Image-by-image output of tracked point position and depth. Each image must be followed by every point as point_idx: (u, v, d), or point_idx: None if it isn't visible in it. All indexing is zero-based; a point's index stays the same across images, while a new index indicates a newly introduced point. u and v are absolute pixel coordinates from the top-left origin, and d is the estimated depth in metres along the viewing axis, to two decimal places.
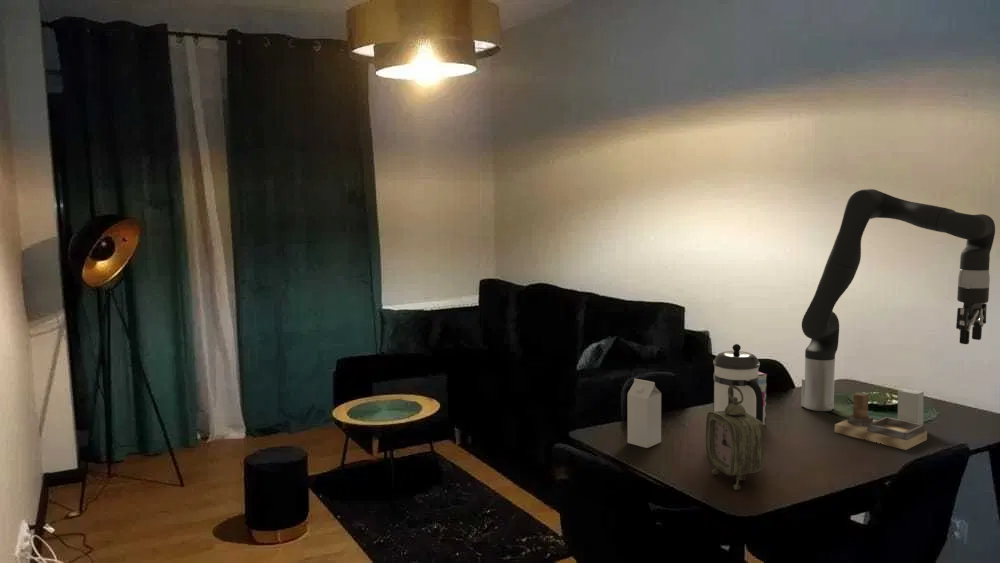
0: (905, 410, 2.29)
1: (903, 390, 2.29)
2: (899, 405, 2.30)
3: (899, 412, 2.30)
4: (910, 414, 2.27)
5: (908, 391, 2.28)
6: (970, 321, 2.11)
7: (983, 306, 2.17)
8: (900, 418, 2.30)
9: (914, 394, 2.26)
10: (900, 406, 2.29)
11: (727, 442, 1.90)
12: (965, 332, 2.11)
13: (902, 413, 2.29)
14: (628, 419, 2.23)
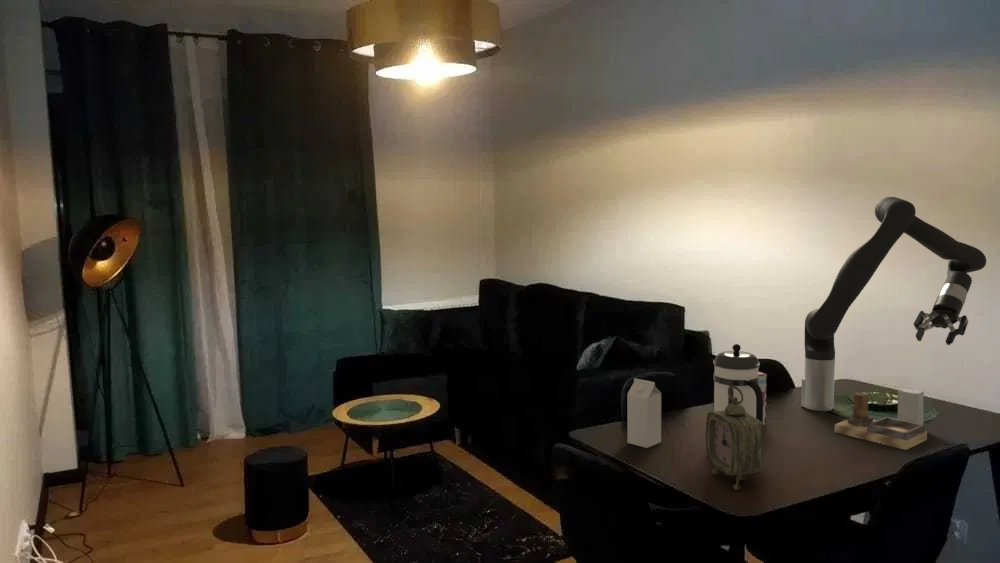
0: (905, 410, 2.29)
1: (903, 390, 2.29)
2: (899, 405, 2.30)
3: (899, 412, 2.30)
4: (910, 414, 2.27)
5: (908, 391, 2.28)
6: None
7: None
8: (900, 418, 2.30)
9: (914, 394, 2.26)
10: (900, 406, 2.30)
11: (727, 442, 1.90)
12: None
13: (902, 413, 2.29)
14: (628, 419, 2.23)
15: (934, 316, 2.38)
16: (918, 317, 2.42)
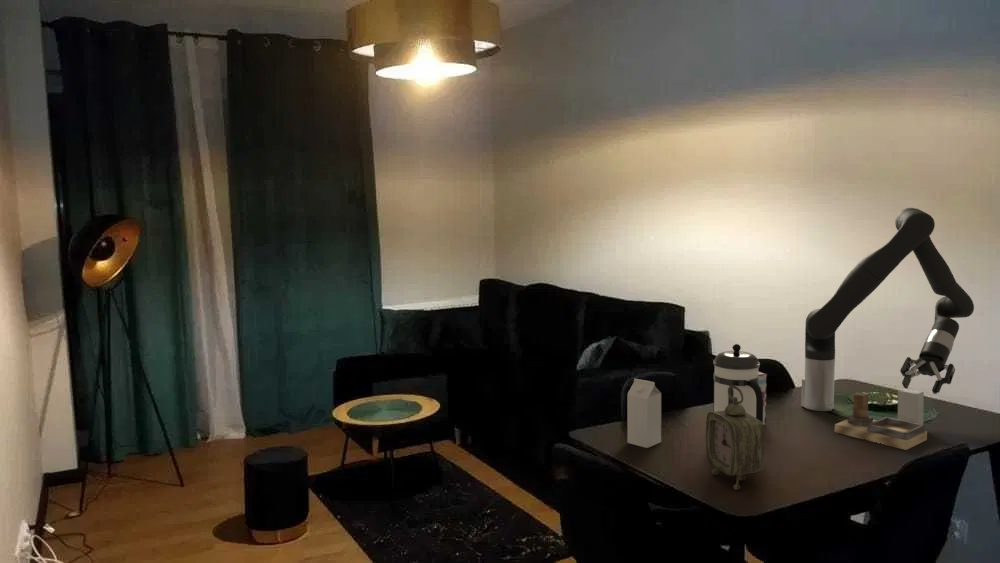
0: (905, 410, 2.29)
1: (903, 390, 2.29)
2: (899, 405, 2.30)
3: (899, 412, 2.30)
4: (910, 414, 2.27)
5: (908, 391, 2.28)
6: None
7: None
8: (900, 418, 2.30)
9: (914, 394, 2.26)
10: (900, 406, 2.30)
11: (727, 442, 1.90)
12: (941, 384, 2.29)
13: (902, 413, 2.29)
14: (628, 419, 2.23)
15: (921, 363, 2.35)
16: (905, 363, 2.39)
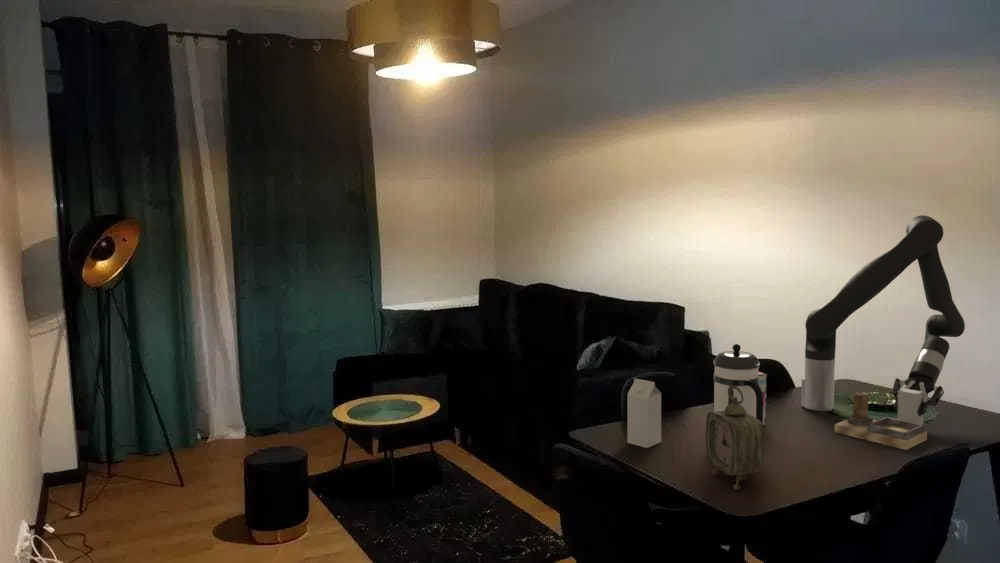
0: (905, 410, 2.29)
1: (903, 390, 2.29)
2: (899, 405, 2.30)
3: (899, 412, 2.30)
4: (910, 414, 2.27)
5: (908, 391, 2.28)
6: (928, 398, 2.28)
7: None
8: (900, 418, 2.30)
9: (914, 394, 2.26)
10: (900, 406, 2.29)
11: (727, 442, 1.90)
12: (927, 406, 2.26)
13: (902, 413, 2.29)
14: (628, 419, 2.23)
15: (911, 384, 2.31)
16: (895, 385, 2.35)
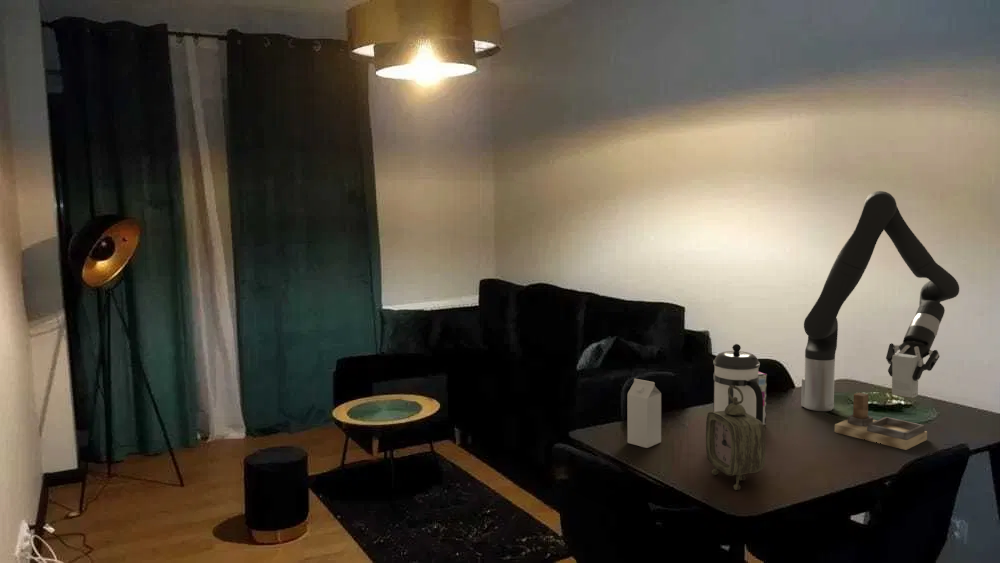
0: (899, 375, 2.22)
1: (898, 355, 2.23)
2: (893, 370, 2.24)
3: (894, 377, 2.24)
4: (905, 379, 2.21)
5: (903, 355, 2.22)
6: (923, 363, 2.23)
7: None
8: (894, 383, 2.24)
9: (909, 358, 2.20)
10: (894, 371, 2.23)
11: (727, 442, 1.90)
12: (922, 371, 2.20)
13: (896, 379, 2.23)
14: (628, 419, 2.23)
15: (905, 348, 2.25)
16: (889, 350, 2.29)
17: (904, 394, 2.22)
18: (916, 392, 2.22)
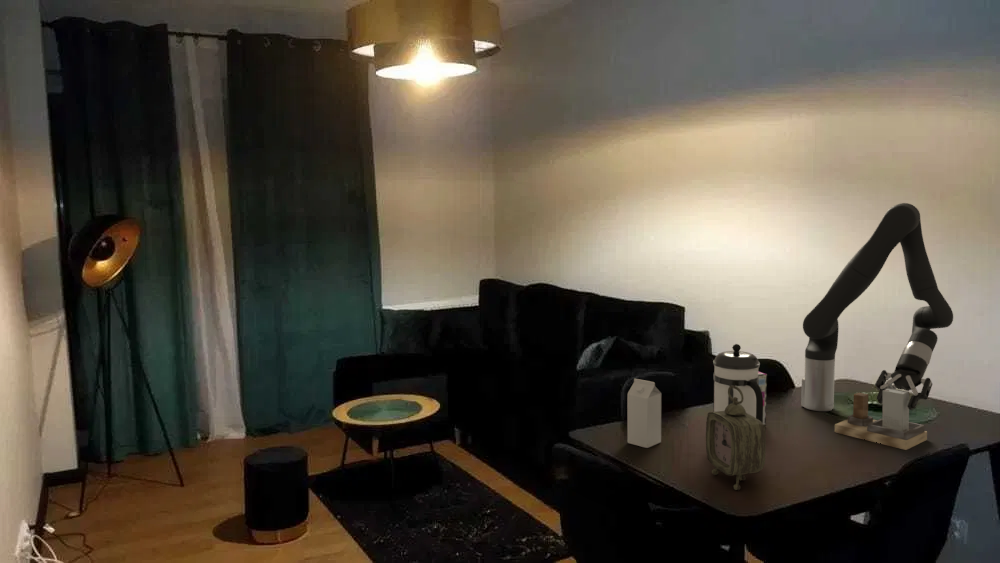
0: (889, 411, 2.20)
1: (888, 390, 2.21)
2: (884, 405, 2.21)
3: (884, 413, 2.21)
4: (895, 415, 2.19)
5: (893, 391, 2.19)
6: (917, 391, 2.19)
7: None
8: (885, 419, 2.21)
9: (899, 394, 2.17)
10: (885, 407, 2.21)
11: (727, 442, 1.90)
12: (917, 400, 2.17)
13: (886, 414, 2.21)
14: (628, 419, 2.23)
15: (896, 377, 2.22)
16: (880, 377, 2.26)
17: None
18: (907, 428, 2.19)
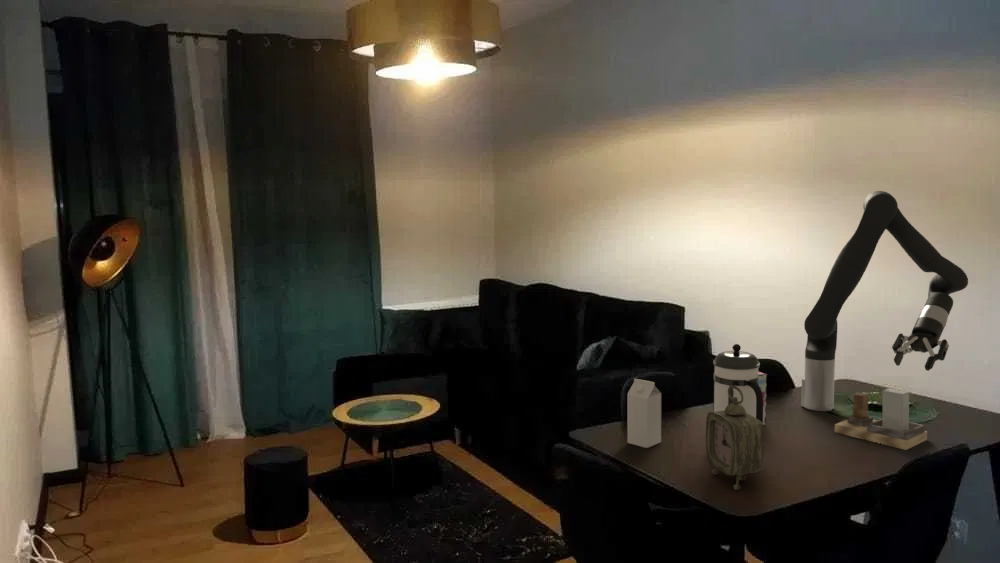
0: (889, 411, 2.20)
1: (888, 390, 2.21)
2: (884, 405, 2.21)
3: (884, 413, 2.21)
4: (895, 415, 2.19)
5: (893, 391, 2.19)
6: None
7: None
8: (885, 419, 2.21)
9: (899, 394, 2.17)
10: (885, 407, 2.21)
11: (727, 442, 1.90)
12: (934, 361, 2.21)
13: (886, 414, 2.21)
14: (628, 419, 2.23)
15: (913, 339, 2.27)
16: (897, 340, 2.31)
17: None
18: (907, 428, 2.19)
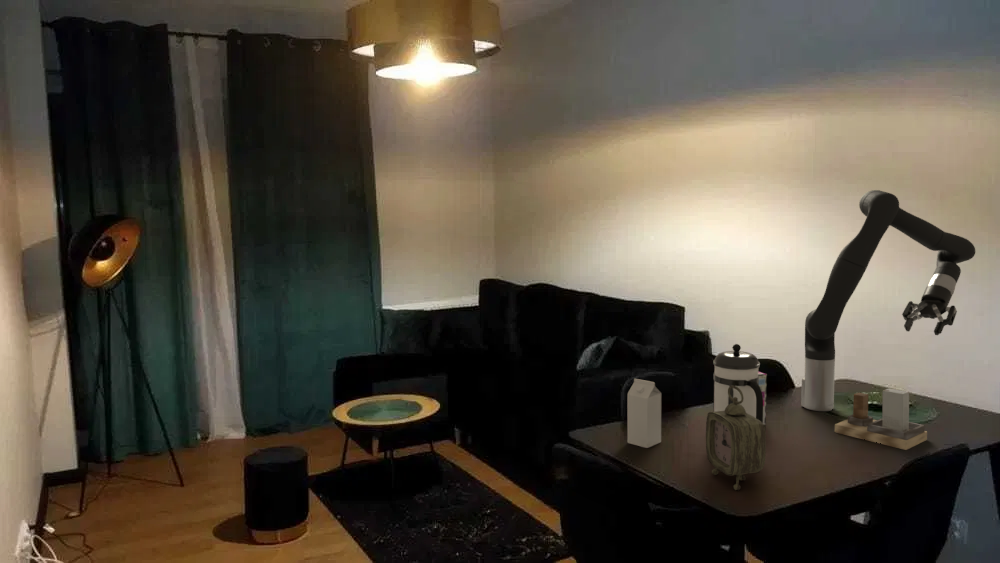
0: (889, 411, 2.20)
1: (888, 390, 2.21)
2: (884, 405, 2.21)
3: (884, 413, 2.21)
4: (895, 415, 2.19)
5: (893, 391, 2.19)
6: None
7: None
8: (885, 419, 2.21)
9: (899, 394, 2.17)
10: (885, 407, 2.21)
11: (727, 442, 1.90)
12: (943, 326, 2.31)
13: (886, 414, 2.21)
14: (628, 419, 2.23)
15: (923, 306, 2.37)
16: (907, 307, 2.41)
17: None
18: (907, 428, 2.19)
